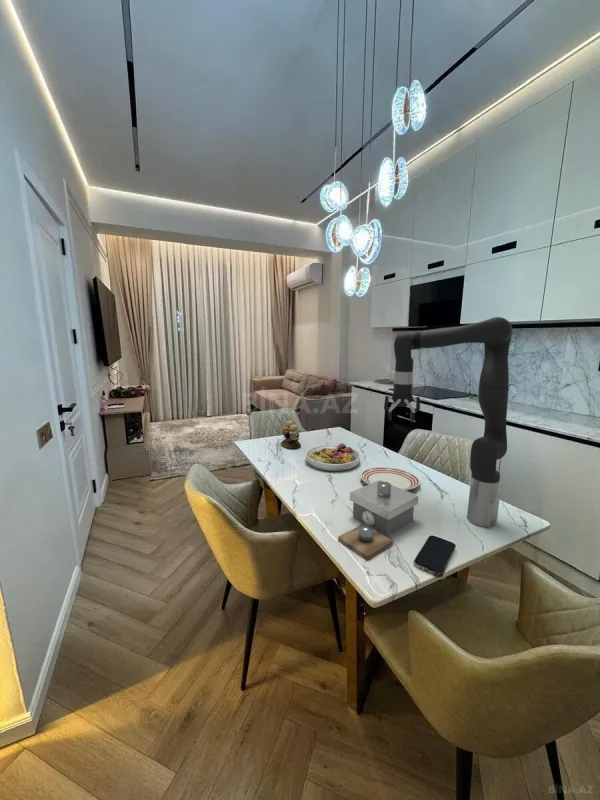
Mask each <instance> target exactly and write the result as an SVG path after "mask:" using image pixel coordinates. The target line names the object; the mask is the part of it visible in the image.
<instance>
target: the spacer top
mask: <svg viewBox="0 0 600 800" xmlns="http://www.w3.org/2000/svg"><path fill="white" fill-rule="evenodd" d="M358 526H359V530H358V539H359V540H360V541H361V542H363V543H371V542H372V541H373V534H374V530H375V529H374V528H373V526H371V525H369V524H365V523H361V524H359V525H358Z"/></svg>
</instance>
